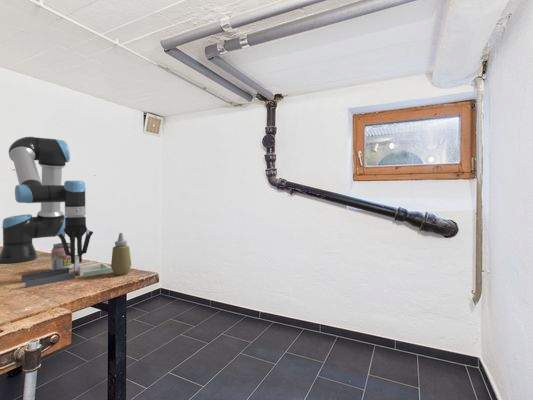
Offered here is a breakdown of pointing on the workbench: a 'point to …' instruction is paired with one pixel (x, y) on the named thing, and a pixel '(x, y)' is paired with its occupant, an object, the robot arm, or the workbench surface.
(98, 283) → the workbench surface
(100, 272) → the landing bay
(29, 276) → the chute
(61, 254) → the beverage can
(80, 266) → the block
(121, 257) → the squeeze bottle
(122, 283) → the workbench surface
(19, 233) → the robot arm
